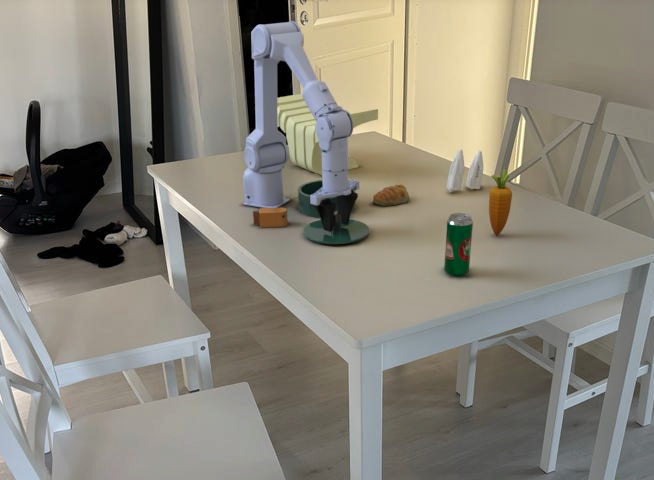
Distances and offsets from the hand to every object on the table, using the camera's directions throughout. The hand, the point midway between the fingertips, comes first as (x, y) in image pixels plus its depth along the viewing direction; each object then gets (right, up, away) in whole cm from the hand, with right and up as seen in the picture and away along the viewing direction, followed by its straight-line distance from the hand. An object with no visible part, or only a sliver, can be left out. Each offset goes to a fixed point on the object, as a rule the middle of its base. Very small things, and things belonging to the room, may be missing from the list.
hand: (336, 227), depth 170 cm
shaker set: (+33, +14, +27) cm, 45 cm away
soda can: (+25, -13, -18) cm, 33 cm away
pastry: (+14, +10, +20) cm, 26 cm away
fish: (-16, +2, +6) cm, 17 cm away
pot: (-3, +8, +16) cm, 18 cm away
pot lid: (0, -1, +1) cm, 1 cm away
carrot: (+37, -2, -1) cm, 37 cm away
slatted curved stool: (-5, +26, +47) cm, 53 cm away
